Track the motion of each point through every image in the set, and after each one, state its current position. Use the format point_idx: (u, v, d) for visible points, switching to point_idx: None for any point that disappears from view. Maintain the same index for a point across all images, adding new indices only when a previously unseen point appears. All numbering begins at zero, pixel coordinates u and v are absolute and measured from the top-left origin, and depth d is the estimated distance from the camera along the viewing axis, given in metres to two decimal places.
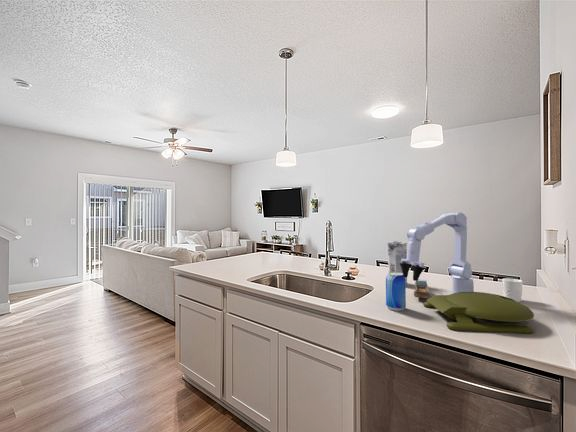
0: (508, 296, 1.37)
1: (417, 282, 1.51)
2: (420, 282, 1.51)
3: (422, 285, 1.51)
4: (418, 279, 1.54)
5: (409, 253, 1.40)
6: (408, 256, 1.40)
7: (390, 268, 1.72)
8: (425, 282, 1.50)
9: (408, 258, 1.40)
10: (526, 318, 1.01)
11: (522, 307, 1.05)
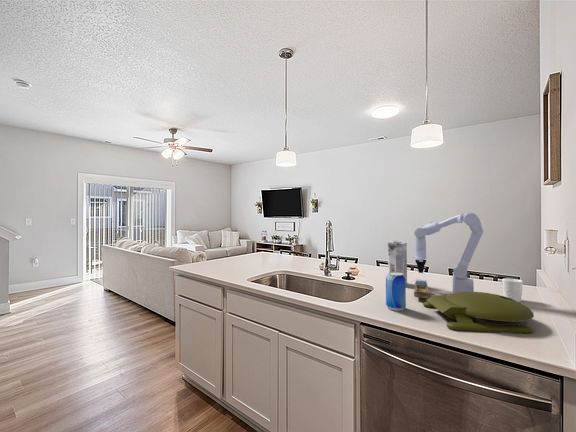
0: (508, 296, 1.37)
1: (417, 282, 1.51)
2: (420, 282, 1.51)
3: (422, 285, 1.51)
4: (418, 279, 1.54)
5: (415, 250, 1.59)
6: (415, 253, 1.60)
7: (390, 268, 1.72)
8: (425, 282, 1.50)
9: (415, 254, 1.60)
10: (526, 318, 1.01)
11: (522, 307, 1.05)
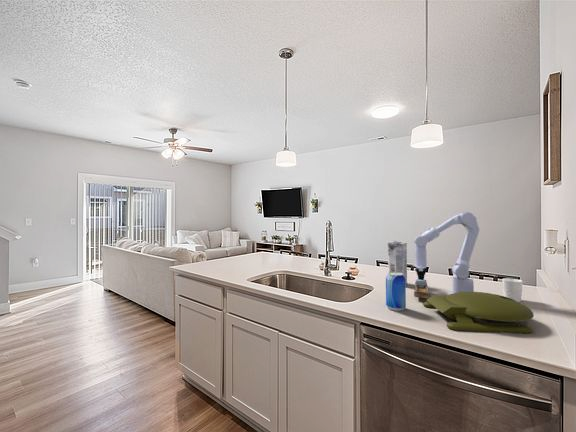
0: (508, 296, 1.37)
1: (417, 282, 1.51)
2: (420, 282, 1.51)
3: (422, 285, 1.51)
4: (418, 279, 1.54)
5: (415, 259, 1.56)
6: (415, 261, 1.56)
7: (390, 268, 1.72)
8: (425, 282, 1.50)
9: (415, 263, 1.56)
10: (526, 318, 1.01)
11: (522, 307, 1.06)
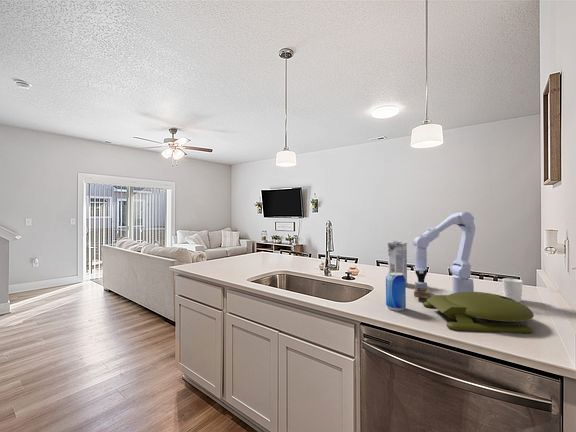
0: (508, 296, 1.37)
1: (417, 285, 1.45)
2: (420, 285, 1.45)
3: (422, 288, 1.45)
4: (418, 282, 1.48)
5: (415, 260, 1.50)
6: (415, 263, 1.50)
7: (390, 268, 1.72)
8: (425, 285, 1.44)
9: (415, 265, 1.50)
10: (526, 318, 1.01)
11: (522, 307, 1.06)
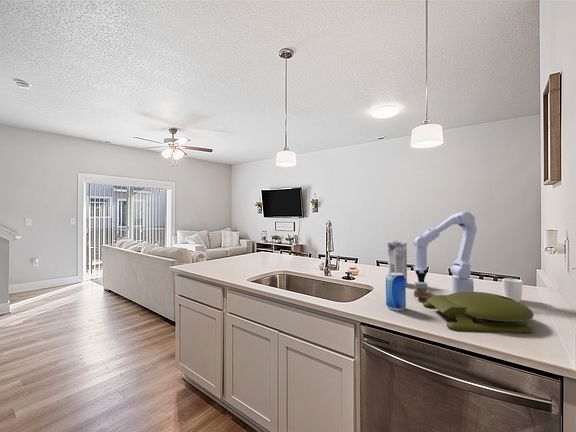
0: (508, 296, 1.37)
1: (417, 285, 1.45)
2: (420, 285, 1.45)
3: (422, 288, 1.45)
4: (418, 282, 1.48)
5: (415, 260, 1.51)
6: (415, 263, 1.52)
7: (390, 268, 1.72)
8: (425, 285, 1.44)
9: (415, 265, 1.51)
10: (526, 318, 1.01)
11: (522, 307, 1.06)
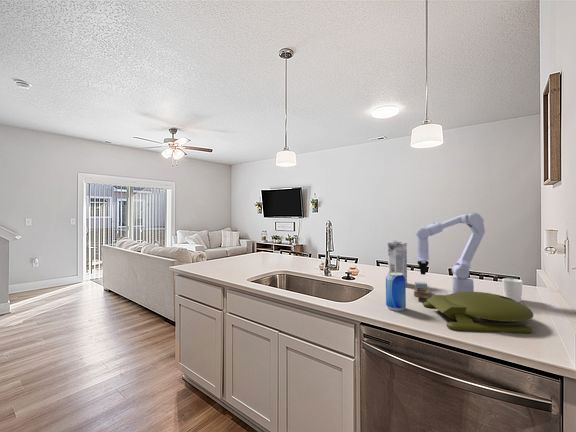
0: (508, 296, 1.37)
1: (417, 285, 1.45)
2: (420, 285, 1.45)
3: (422, 288, 1.45)
4: (418, 282, 1.48)
5: (417, 251, 1.55)
6: (417, 254, 1.56)
7: (390, 268, 1.72)
8: (425, 285, 1.44)
9: (417, 255, 1.55)
10: (526, 318, 1.01)
11: (522, 307, 1.06)
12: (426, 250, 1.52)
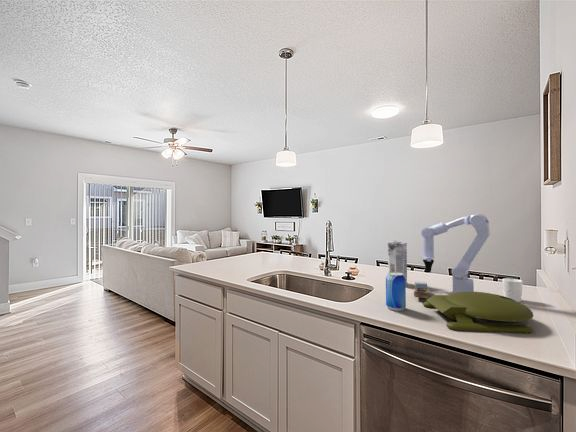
0: (508, 296, 1.37)
1: (417, 285, 1.45)
2: (420, 285, 1.45)
3: (422, 288, 1.45)
4: (418, 282, 1.48)
5: None
6: None
7: (390, 268, 1.72)
8: (425, 285, 1.44)
9: None
10: (526, 318, 1.01)
11: (522, 307, 1.06)
12: (431, 249, 1.57)
